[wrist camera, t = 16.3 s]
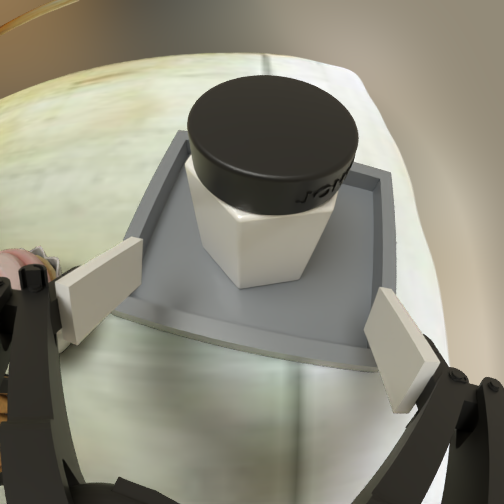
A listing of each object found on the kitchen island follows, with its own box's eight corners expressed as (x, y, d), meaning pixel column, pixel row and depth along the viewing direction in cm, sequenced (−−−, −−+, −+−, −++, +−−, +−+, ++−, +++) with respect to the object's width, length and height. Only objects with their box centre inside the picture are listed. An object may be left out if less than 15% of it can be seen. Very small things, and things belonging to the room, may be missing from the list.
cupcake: (82, 390, 18) (-4, 378, 9) (7, 352, 19) (-71, 321, 10) (110, 281, 22) (48, 216, 13) (35, 261, 23) (-27, 203, 14)
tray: (114, 315, 21) (98, 304, 18) (182, 151, 29) (178, 130, 26) (372, 372, 20) (390, 368, 17) (379, 191, 27) (391, 172, 25)
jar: (292, 308, 21) (346, 217, 10) (188, 270, 22) (147, 157, 11) (322, 211, 25) (367, 96, 14) (233, 182, 26) (232, 61, 15)
